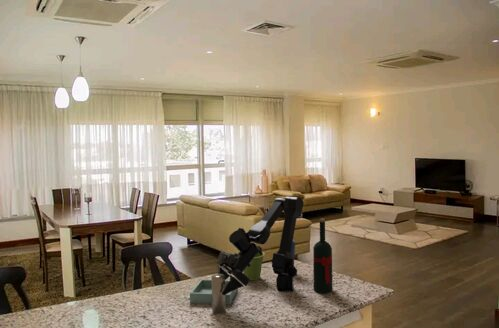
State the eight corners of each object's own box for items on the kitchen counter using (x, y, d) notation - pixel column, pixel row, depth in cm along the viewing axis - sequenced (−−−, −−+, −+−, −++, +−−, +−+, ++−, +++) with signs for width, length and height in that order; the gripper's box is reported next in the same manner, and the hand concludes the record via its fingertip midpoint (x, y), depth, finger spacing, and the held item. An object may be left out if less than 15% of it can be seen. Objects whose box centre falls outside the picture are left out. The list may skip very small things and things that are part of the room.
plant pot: (233, 278, 185) (233, 254, 185) (252, 272, 193) (252, 249, 193) (251, 284, 177) (251, 259, 176) (270, 278, 185) (270, 253, 184)
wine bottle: (319, 296, 161) (319, 222, 160) (310, 287, 171) (309, 217, 170) (338, 294, 163) (337, 221, 162) (328, 286, 173) (327, 216, 172)
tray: (237, 289, 171) (237, 280, 170) (230, 304, 155) (229, 294, 155) (201, 288, 173) (200, 279, 173) (189, 302, 157) (189, 293, 157)
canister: (227, 308, 152) (226, 274, 151) (224, 313, 147) (223, 278, 146) (214, 307, 152) (213, 273, 152) (210, 313, 147) (209, 278, 147)
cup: (294, 274, 188) (294, 243, 188) (280, 274, 190) (280, 242, 189) (296, 270, 195) (295, 239, 194) (282, 269, 196) (281, 239, 196)
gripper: (221, 238, 159) (195, 270, 155) (241, 249, 142) (212, 285, 138) (240, 255, 163) (214, 287, 158) (261, 268, 146) (233, 303, 141)
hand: (218, 290), depth 149 cm, fingers open, 9 cm apart
